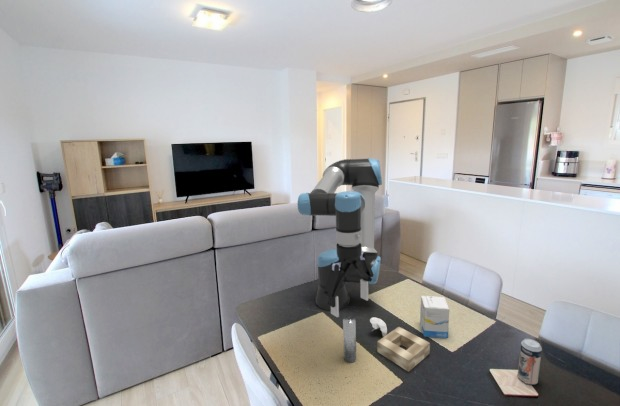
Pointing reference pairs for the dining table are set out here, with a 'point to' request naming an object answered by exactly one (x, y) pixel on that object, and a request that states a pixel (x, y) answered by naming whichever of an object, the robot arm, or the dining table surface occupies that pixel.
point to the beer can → (529, 361)
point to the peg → (349, 339)
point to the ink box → (434, 316)
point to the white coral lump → (379, 325)
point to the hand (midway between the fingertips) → (350, 306)
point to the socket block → (398, 355)
